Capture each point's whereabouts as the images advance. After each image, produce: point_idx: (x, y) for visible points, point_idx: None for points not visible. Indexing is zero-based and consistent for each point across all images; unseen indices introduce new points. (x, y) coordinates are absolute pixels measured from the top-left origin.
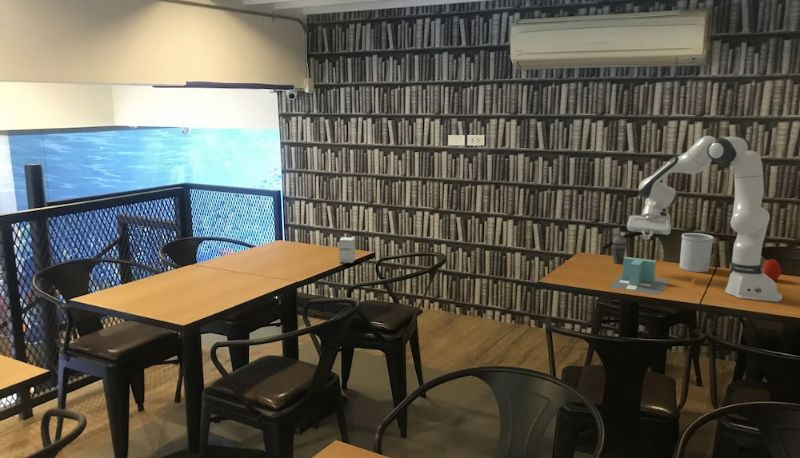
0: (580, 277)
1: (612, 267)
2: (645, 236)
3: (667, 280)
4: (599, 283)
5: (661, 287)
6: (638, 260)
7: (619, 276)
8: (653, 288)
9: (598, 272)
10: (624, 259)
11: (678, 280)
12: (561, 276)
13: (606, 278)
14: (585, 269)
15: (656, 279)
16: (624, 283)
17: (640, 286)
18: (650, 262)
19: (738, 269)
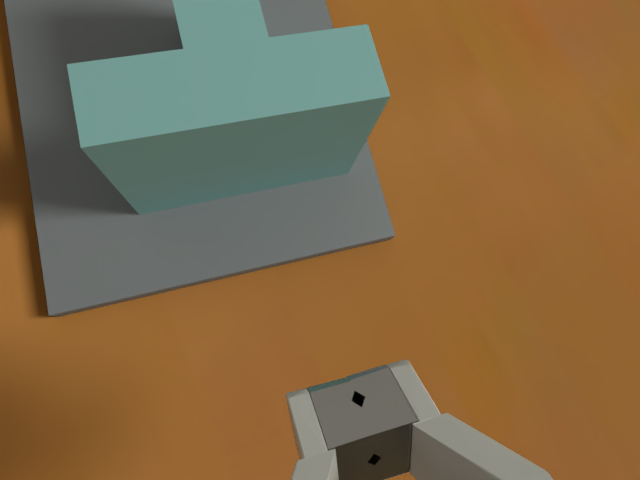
0: (536, 51)
1: (562, 428)
2: (370, 386)
3: (60, 293)
4: (397, 5)
5: (36, 85)
6: (226, 34)
7: (372, 160)
8: (74, 31)
9: (540, 224)
10: (356, 31)
11: (15, 438)
12: (608, 8)
13: (428, 125)
14: (632, 235)
15: (140, 261)
16: (268, 29)
17: (161, 25)
18: (112, 64)
19: None
